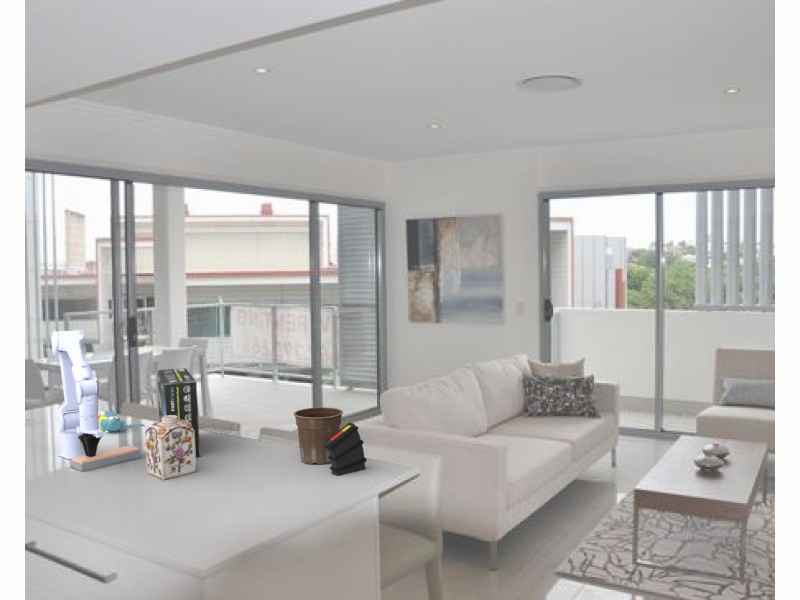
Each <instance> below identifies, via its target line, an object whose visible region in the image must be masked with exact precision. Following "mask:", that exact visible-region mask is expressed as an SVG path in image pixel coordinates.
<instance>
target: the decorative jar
mask: <svg viewBox="0 0 800 600" xmlns="http://www.w3.org/2000/svg"><path fill="white" fill-rule="evenodd" d="M144 433H145V434H144V438H145V439H144V440H145V441H144V443H145V461H146V462H145V463H146V464H145V465H146V472H147V474H148V473H149V475H150V476H151V475H152V476H154V477H156V478H158V479H160V478H161V479H160V480H163V481H164V480H168V479H172V478H176V477H181V476H186V475H189V474H193V473H196V472H197V457H196V447H195V431H194V429H193V427H192V425H191V424H190V422H189V421H186V420H178V419H177V416H175V415H168V416H164V417H162V421H160V420H159V421H158V422H157V421H156V422H153V423H151V424H150V425H149V426H148V427H147V429H146V430H145V431H144Z"/></svg>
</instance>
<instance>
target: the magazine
mask: <svg viewBox="0 0 800 600" xmlns="http://www.w3.org/2000/svg"><path fill="white" fill-rule="evenodd" d="M359 429H360V428H359V427H358V426H356V424H355V423H353V422H348V423H346V424H345V425H344V426H342V428H341V427H340V430H339V431H337V432H336V433H335V434H333V435H332V436H331V437H329V438H328V439H327V440H325V441H324V443H325V445H324V447H325V448H327V450H328V452H329V455H330V456H328V458H329V459H331V463H330V465H331V466H329V470H331V475H333V476H342V475H346V474H350V473H355V472H359V471H364V470H366V463H367V458H366V457H365V451H364V450H365V449H364V446H363V444H364V440H363V439H361V435H360V433H359Z"/></svg>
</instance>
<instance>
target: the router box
mask: <svg viewBox="0 0 800 600" xmlns="http://www.w3.org/2000/svg"><path fill="white" fill-rule="evenodd" d="M156 375H157V391H158V392H157V393H158V409H159V410H158V412H159V413H158V416H159V422H160V421H162V417H164V416H168V415H175V416H177V419H178V420H186V421H189V422H190V424H191V425H192V427H193V429H194V431H195V447H196V458H200V457H201V445H200V441H201V440H200V425H199V407H198V406H199V405H198V393H197V392H198V391H197V388H198V384H197V380H195V378H194V377H193V376H192V374H191V372H189V370H188V368H171V369H170V368H169V369H160V370H157V374H156Z"/></svg>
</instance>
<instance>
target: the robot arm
mask: <svg viewBox="0 0 800 600" xmlns="http://www.w3.org/2000/svg"><path fill="white" fill-rule="evenodd" d="M85 343H86V335H85V332H84V330H82V329H73V330H62V331H55V330H54V331H53V333H52V334H51V349H52V353H53V356H54V357H57V358H58V360H59V363H60V364H59V365H60V373H61V375H60V376H61V381H62V382H61V383H62V390H63V399H64V404H62V406H60V407H59V408H58V409H57V412H56V424H57V429H58V430H59V431H60V432H61V433H60V434H59V453H57V454H56V455H57V456H59V457H61V458H64V459H67V460H72V459H71V458H74V457H79V456H83V455H86V456H88V457H94V456H96V453H97V452H98V446H99V443H100V441H101V439H102V438H103V437H104V433H103V431H101V427H100V426H99V419H98V416H99V400H98V396H99V395H100V391H101V385H100V380H99V379H98V378H97V377H96V376H95V375H94V374H93V370H92V368H91V365H90V363H88V362H87V361H85V357H84V352H83V349H84V346H85V345H86V344H85Z"/></svg>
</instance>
